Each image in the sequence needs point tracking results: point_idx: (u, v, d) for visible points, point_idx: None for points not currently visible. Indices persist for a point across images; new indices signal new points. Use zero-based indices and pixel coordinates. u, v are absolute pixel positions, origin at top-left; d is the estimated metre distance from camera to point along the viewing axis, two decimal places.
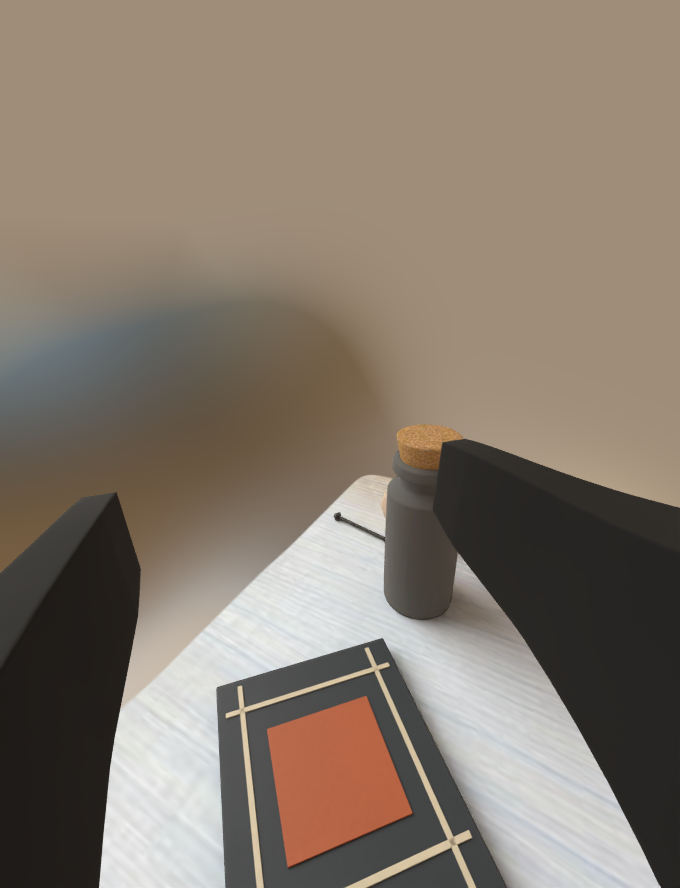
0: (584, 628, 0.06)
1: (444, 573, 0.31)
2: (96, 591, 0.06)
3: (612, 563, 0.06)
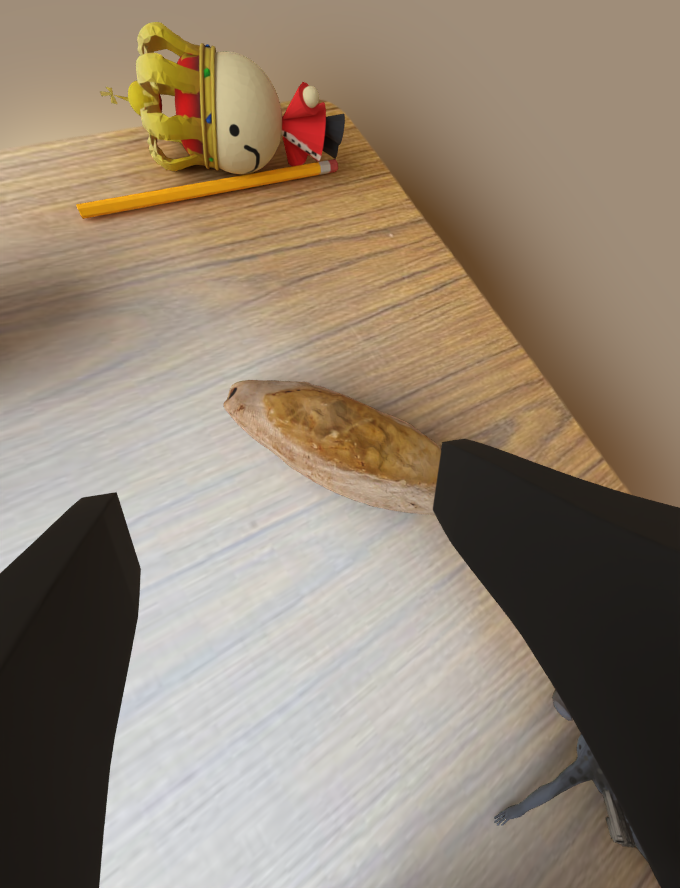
0: (584, 628, 0.06)
1: None
2: (97, 591, 0.06)
3: (612, 563, 0.06)
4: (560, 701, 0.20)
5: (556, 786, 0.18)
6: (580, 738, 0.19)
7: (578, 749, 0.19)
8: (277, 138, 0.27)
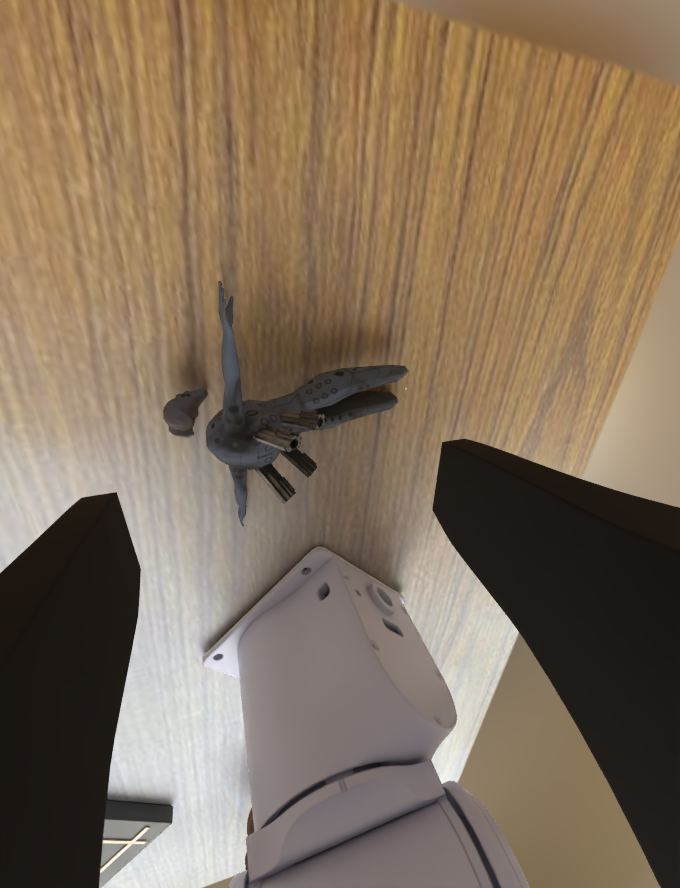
0: (584, 628, 0.06)
1: None
2: (97, 591, 0.06)
3: (612, 563, 0.06)
4: (170, 428, 0.15)
5: (237, 487, 0.16)
6: None
7: None
8: None
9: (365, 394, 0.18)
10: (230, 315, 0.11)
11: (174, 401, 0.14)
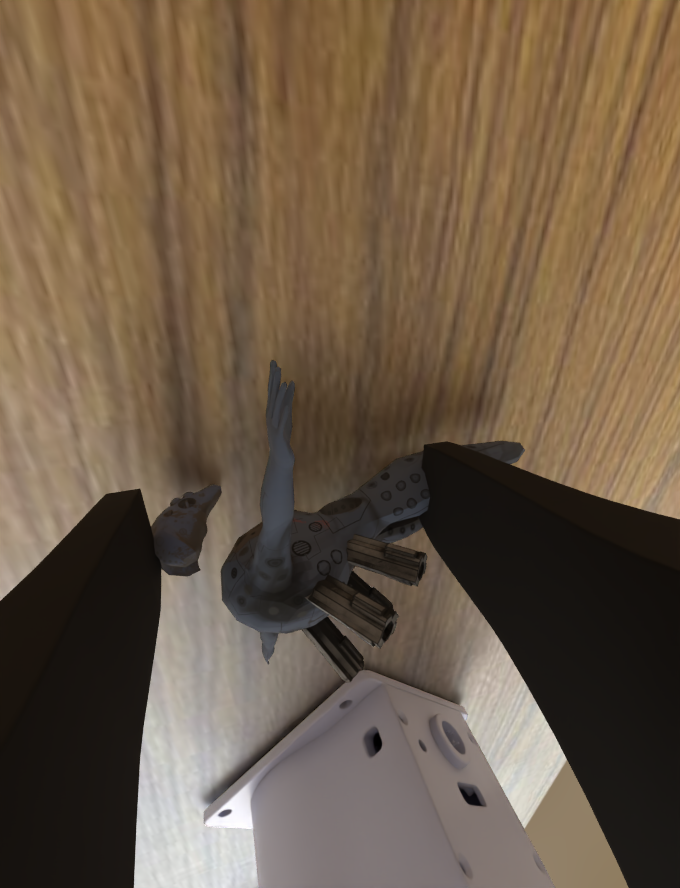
0: (560, 636, 0.06)
1: None
2: (126, 585, 0.06)
3: (586, 570, 0.06)
4: (161, 562, 0.09)
5: (266, 633, 0.10)
6: None
7: None
8: None
9: None
10: (288, 423, 0.05)
11: (168, 519, 0.09)
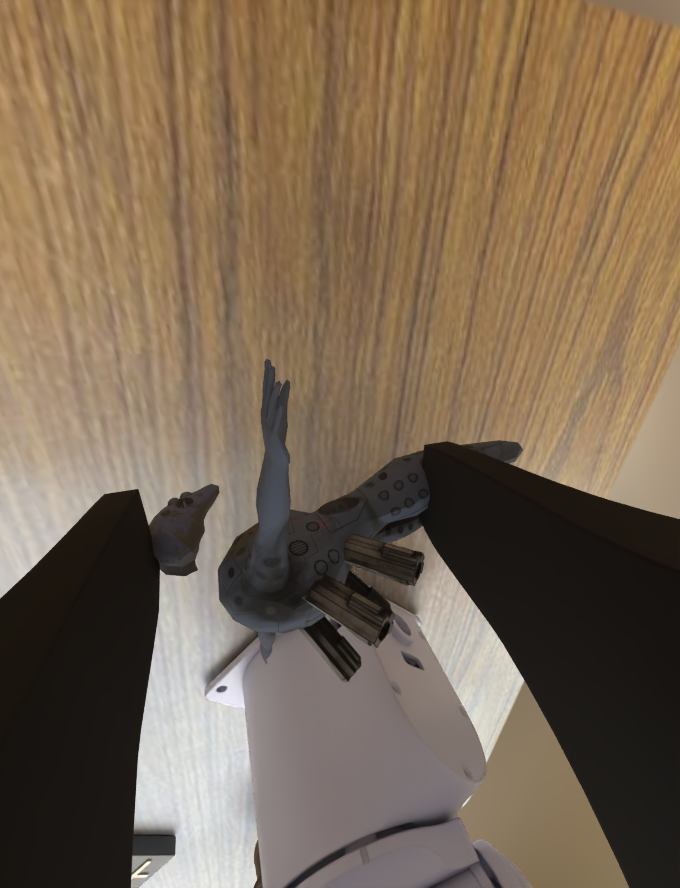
0: (561, 636, 0.06)
1: None
2: (123, 586, 0.06)
3: (587, 570, 0.06)
4: None
5: (264, 633, 0.10)
6: None
7: None
8: None
9: None
10: (283, 422, 0.05)
11: (165, 519, 0.09)
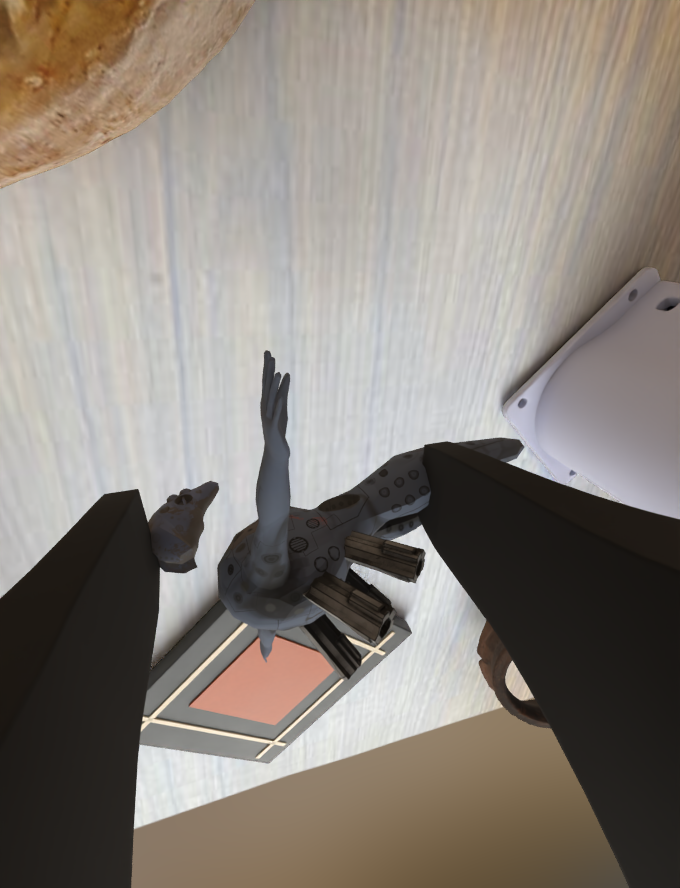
0: (561, 636, 0.06)
1: None
2: (123, 586, 0.06)
3: (587, 570, 0.06)
4: (158, 559, 0.09)
5: (264, 631, 0.10)
6: None
7: None
8: None
9: None
10: (283, 416, 0.05)
11: (164, 515, 0.09)
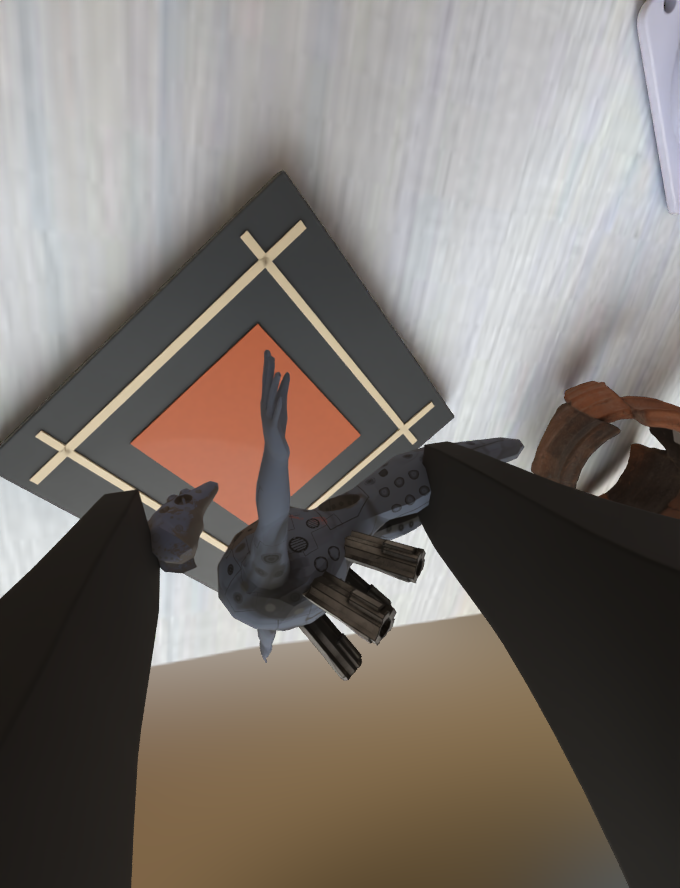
0: (561, 635, 0.06)
1: None
2: (123, 586, 0.06)
3: (586, 570, 0.06)
4: None
5: (263, 631, 0.10)
6: None
7: None
8: None
9: None
10: (283, 415, 0.05)
11: (164, 515, 0.09)
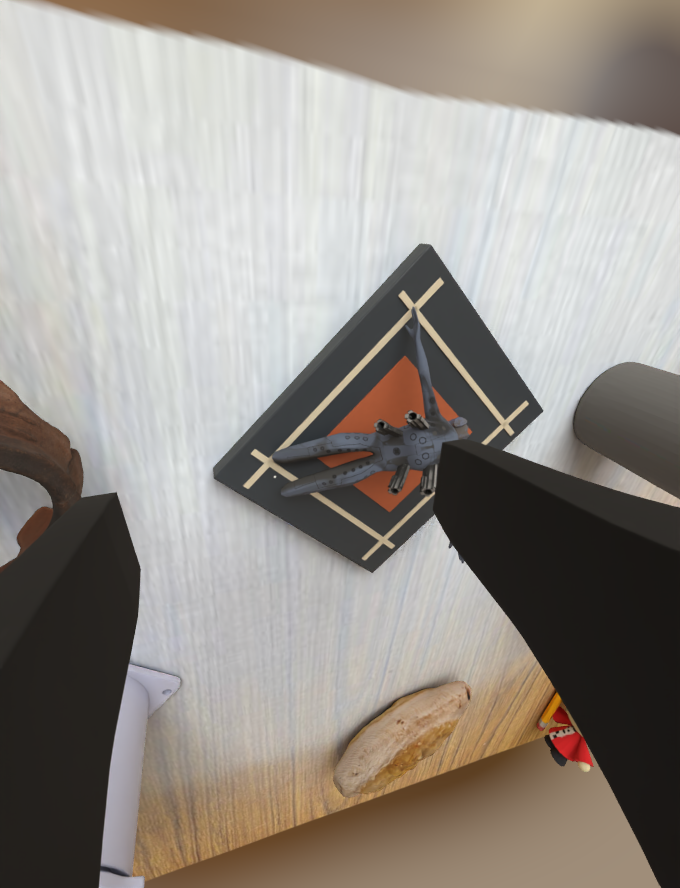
0: (584, 628, 0.06)
1: (642, 477, 0.23)
2: (97, 591, 0.06)
3: (612, 563, 0.06)
4: (466, 423, 0.20)
5: (430, 383, 0.18)
6: None
7: None
8: (575, 728, 0.42)
9: None
10: None
11: None
